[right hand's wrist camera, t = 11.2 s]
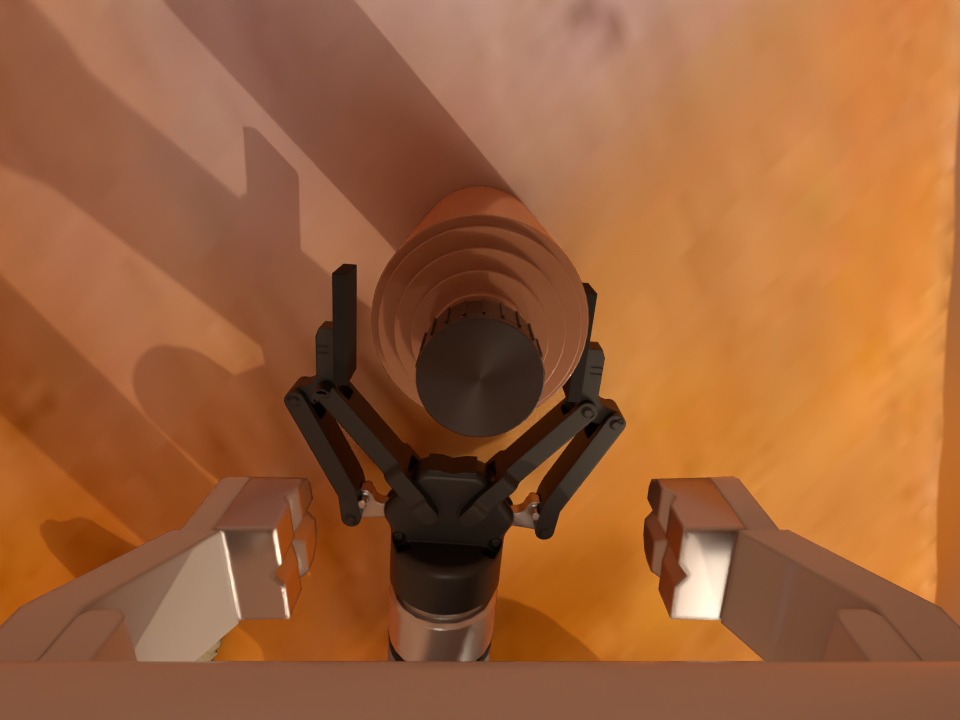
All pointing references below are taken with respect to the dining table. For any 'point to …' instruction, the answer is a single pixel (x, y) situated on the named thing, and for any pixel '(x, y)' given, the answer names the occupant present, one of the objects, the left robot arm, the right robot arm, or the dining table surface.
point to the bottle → (479, 283)
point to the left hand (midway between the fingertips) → (466, 277)
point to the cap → (480, 369)
